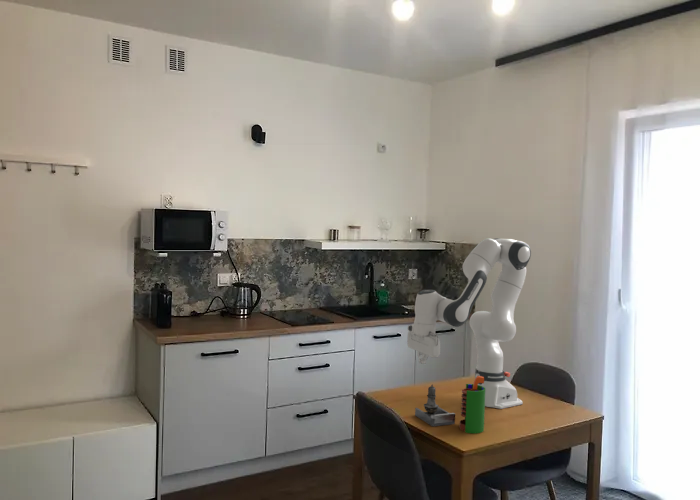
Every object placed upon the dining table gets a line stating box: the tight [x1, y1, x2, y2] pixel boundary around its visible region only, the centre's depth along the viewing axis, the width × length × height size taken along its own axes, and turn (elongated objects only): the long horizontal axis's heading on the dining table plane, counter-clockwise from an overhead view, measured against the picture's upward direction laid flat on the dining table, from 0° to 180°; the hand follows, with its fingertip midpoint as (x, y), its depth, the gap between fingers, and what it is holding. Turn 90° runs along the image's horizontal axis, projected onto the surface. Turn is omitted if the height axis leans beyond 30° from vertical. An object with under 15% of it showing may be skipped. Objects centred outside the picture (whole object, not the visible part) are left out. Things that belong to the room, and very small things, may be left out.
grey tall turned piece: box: [423, 384, 440, 416], centre depth 228 cm, size 6×6×12 cm
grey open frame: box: [414, 406, 456, 427], centre depth 226 cm, size 13×10×4 cm
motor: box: [459, 376, 486, 434], centre depth 217 cm, size 10×9×20 cm
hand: (422, 363), depth 235 cm, fingers closed
